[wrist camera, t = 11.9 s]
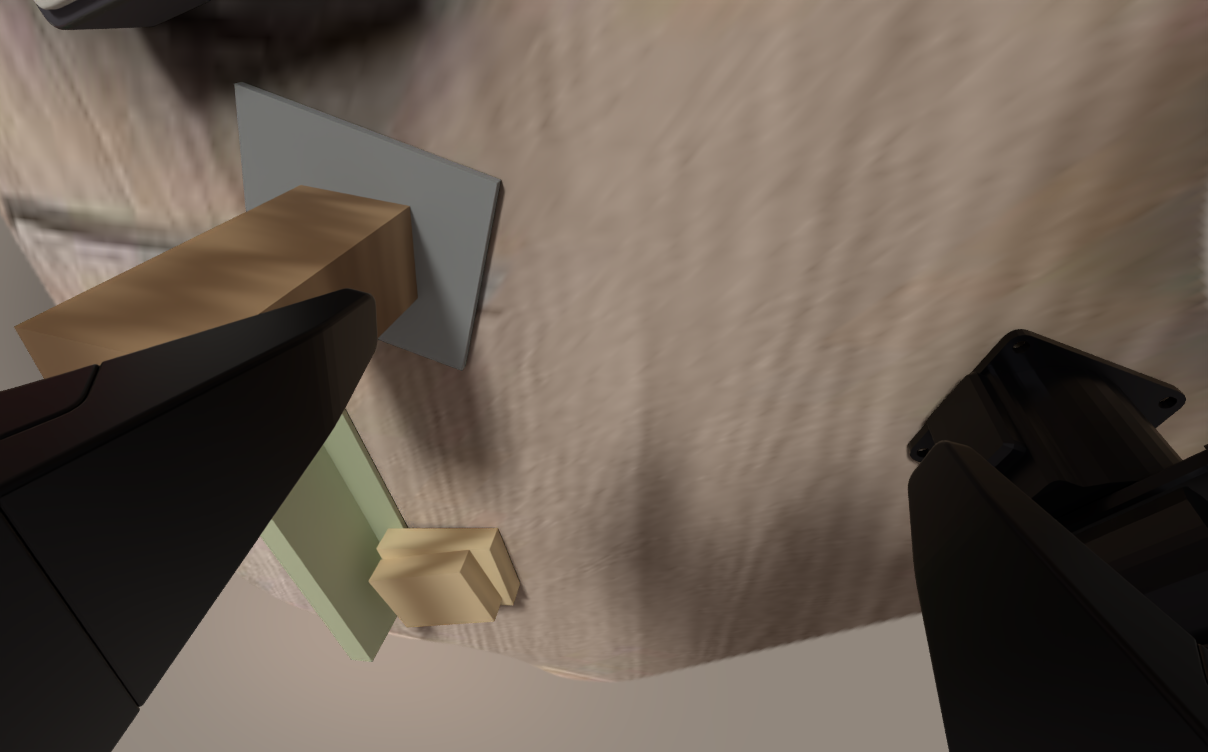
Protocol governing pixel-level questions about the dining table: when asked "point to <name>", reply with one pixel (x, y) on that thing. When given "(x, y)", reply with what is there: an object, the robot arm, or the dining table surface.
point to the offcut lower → (439, 540)
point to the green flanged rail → (338, 540)
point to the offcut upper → (437, 589)
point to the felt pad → (388, 173)
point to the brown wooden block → (237, 278)
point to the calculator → (112, 12)
